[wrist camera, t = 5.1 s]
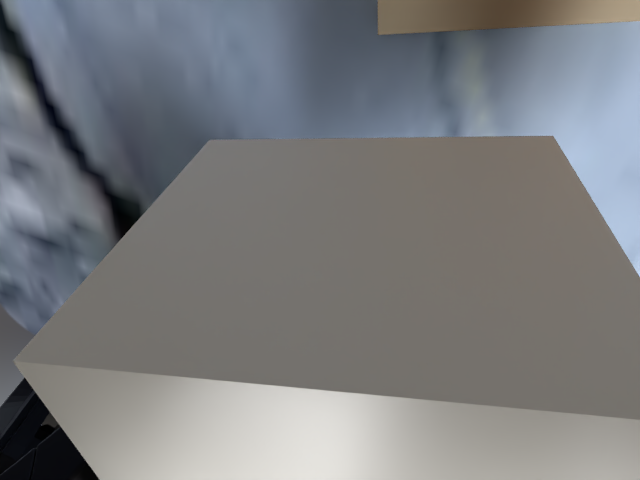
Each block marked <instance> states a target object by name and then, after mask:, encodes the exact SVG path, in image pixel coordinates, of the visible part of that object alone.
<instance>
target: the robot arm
mask: <svg viewBox="0 0 640 480" xmlns="http://www.w3.org/2000/svg"><path fill="white" fill-rule="evenodd" d="M41 425H42V426H41ZM0 480H100V479H99V478H98V477H97V475H96V474H95V473H94V471H93V470H92V468H91V467H90V466H89V464H88V463H87V462H86V460H85V459H84V458H83V456H82V455H81V453H80V452H79V451H78V449H77V448H76V447H75V445H74V444H73V443H72V441H71V440H70V439H69V437H68V436H67V434H66V433H65V432H64V430H63V429H62V428H61V426H60V425H59V424H58V422H57V421H56V419H55V418H54V417H53V415H52V414H51V413H50V411H49V410H48V409H47V407H46V406H45V404H44V403H43V402H42V400H41V399H40V398H39V396H38V395H37V394H36V392H35V391H34V389H33V388H32V387H31V385H30V384H29V383H28V381H27V380H26V379H25V377H24V379H23V380H22V381H21V382H20V384H19V385H18V386H17V387H16V388H15V390H14V391H13V392H12V393H11V394H10V396H9V397H8V398H7V399H6V400H5V402H4V403H3V404H2V405H1V406H0Z"/></svg>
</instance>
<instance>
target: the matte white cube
mask: <svg viewBox="0 0 640 480" xmlns="http://www.w3.org/2000/svg"><path fill="white" fill-rule="evenodd" d="M13 362H14V364H15V365H16V366H17V368H18V369H19V370H20V372H21V373H22V374H23V376H24V377H25V379H26V380H27V381H28V383H29V384H30V385H31V387H32V388H33V389H34V391H35V392H36V394H37V395H38V396H39V398H40V399H41V400H42V402H43V403H44V404H45V406H46V407H47V409H48V410H49V411H50V413H51V414H52V415H53V417H54V418H55V419H56V421H57V422H58V424H59V425H60V426H61V428H62V429H63V430H64V432H65V433H66V434H67V436H68V437H69V439H70V440H71V441H72V443H73V444H74V445H75V447H76V448H77V449H78V451H79V452H80V453H81V455H82V456H83V458H84V459H85V460H86V462H87V463H88V464H89V466H90V467H91V468H92V470H93V471H94V473H95V474H96V475H97V477H98V478H99V479H100V480H640V277H639V275H638V274H637V272H636V271H635V269H634V267H633V266H632V264H631V262H630V261H629V259H628V257H627V256H626V254H625V253H624V251H623V249H622V248H621V246H620V244H619V243H618V241H617V239H616V238H615V236H614V235H613V233H612V231H611V230H610V228H609V226H608V225H607V223H606V221H605V220H604V218H603V217H602V215H601V213H600V212H599V210H598V208H597V207H596V205H595V203H594V202H593V200H592V199H591V197H590V195H589V194H588V192H587V190H586V189H585V187H584V186H583V184H582V182H581V181H580V179H579V177H578V176H577V174H576V172H575V171H574V169H573V168H572V166H571V164H570V163H569V161H568V159H567V158H566V156H565V154H564V153H563V151H562V150H561V148H560V146H559V145H558V143H557V141H556V140H555V138H554V136H504V137H413V138H321V139H230V140H209V141H208V142H207V143H206V144H205V145H204V146H203V147H202V149H201V150H200V151H199V152H198V153H197V154H196V155H195V156H194V158H193V159H192V160H191V161H190V162H189V163H188V164H187V165H186V167H185V168H184V169H183V170H182V171H181V172H180V173H179V174H178V176H177V177H176V178H175V179H174V180H173V181H172V182H171V183H170V185H169V186H168V187H167V188H166V189H165V190H164V191H163V192H162V194H161V195H160V196H159V197H158V198H157V199H156V200H155V201H154V203H153V204H152V205H151V206H150V207H149V208H148V209H147V210H146V212H145V213H144V214H143V215H142V216H141V217H140V218H139V219H138V221H137V222H136V223H135V224H134V225H133V226H132V227H131V228H130V230H129V231H128V232H127V233H126V234H125V235H124V236H123V238H122V239H121V240H120V241H119V242H118V243H117V244H116V245H115V247H114V248H113V249H112V250H111V251H110V252H109V253H108V254H107V256H106V257H105V258H104V259H103V260H102V261H101V262H100V263H99V265H98V266H97V267H96V268H95V269H94V270H93V271H92V272H91V274H90V275H89V276H88V277H87V278H86V279H85V280H84V281H83V283H82V284H81V285H80V286H79V287H78V288H77V289H76V290H75V292H74V293H73V294H72V295H71V296H70V297H69V298H68V299H67V301H66V302H65V303H64V304H63V305H62V306H61V307H60V308H59V310H58V311H57V312H56V313H55V314H54V315H53V316H52V317H51V319H50V320H49V321H48V322H47V323H46V324H45V325H44V326H43V328H42V329H41V330H40V331H39V332H38V333H37V334H36V335H35V337H34V338H33V339H32V340H31V341H30V342H29V343H28V345H27V346H26V347H25V348H24V349H23V350H22V351H21V352H20V354H19V355H18V356H17V357H16V358H15V359H14V360H13Z"/></svg>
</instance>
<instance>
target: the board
mask: <svg viewBox="0 0 640 480" xmlns="http://www.w3.org/2000/svg"><path fill="white" fill-rule="evenodd" d="M630 21H640V0H378V35H386V34H405V33H424V32H442V31H461V30H480V29H499V28H518V27H536V26H555V25H574V24H593V23H612V22H630Z"/></svg>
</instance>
